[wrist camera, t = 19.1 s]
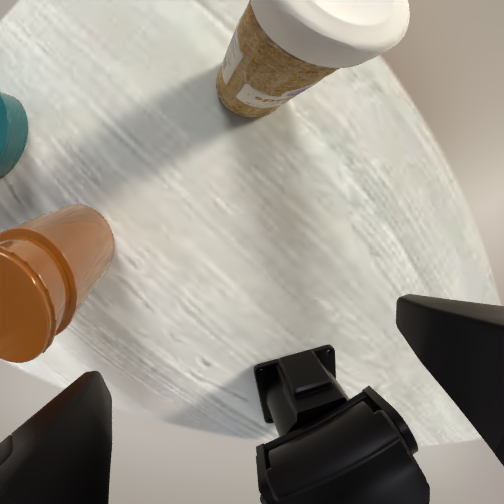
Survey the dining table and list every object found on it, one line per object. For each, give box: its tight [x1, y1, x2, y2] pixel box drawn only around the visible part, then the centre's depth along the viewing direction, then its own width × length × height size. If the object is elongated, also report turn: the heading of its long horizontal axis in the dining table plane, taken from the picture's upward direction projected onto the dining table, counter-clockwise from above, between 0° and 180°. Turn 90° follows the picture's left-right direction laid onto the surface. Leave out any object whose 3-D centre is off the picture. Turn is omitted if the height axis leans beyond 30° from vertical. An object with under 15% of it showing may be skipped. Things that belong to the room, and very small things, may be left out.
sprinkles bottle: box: [216, 0, 409, 117], centre depth 12 cm, size 5×5×13 cm
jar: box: [0, 205, 114, 363], centre depth 14 cm, size 5×5×11 cm
